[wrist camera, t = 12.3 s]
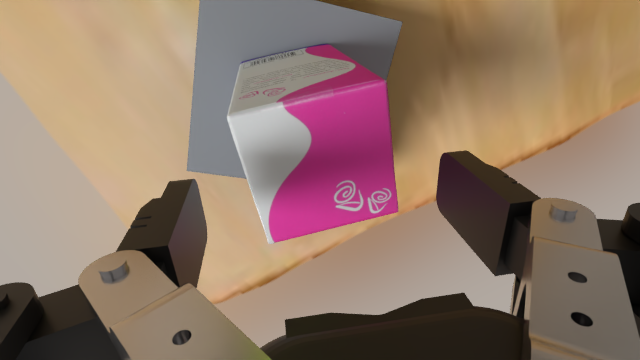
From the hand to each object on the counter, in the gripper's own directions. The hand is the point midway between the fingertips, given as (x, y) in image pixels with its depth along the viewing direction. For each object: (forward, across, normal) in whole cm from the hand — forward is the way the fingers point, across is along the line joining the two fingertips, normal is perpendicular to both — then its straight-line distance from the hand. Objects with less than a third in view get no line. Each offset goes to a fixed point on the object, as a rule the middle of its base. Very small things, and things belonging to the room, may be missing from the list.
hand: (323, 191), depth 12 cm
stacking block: (+19, 0, 0) cm, 19 cm away
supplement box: (+13, 0, 0) cm, 13 cm away
